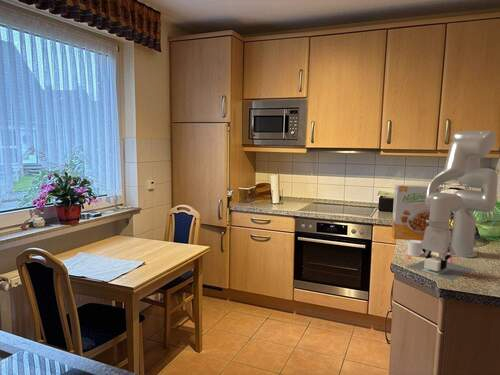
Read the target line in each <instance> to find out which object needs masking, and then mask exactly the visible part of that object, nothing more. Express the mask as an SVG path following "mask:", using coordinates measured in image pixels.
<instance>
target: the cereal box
mask: <svg viewBox="0 0 500 375" xmlns="http://www.w3.org/2000/svg"><path fill="white" fill-rule="evenodd" d="M428 186H429V185H417V184H416V185H415V184H414V185H411V184H410V185H409V184H394V190H393V191H394V194H393V195H394V196H393V205H392V206H393V207H392V208H393V209H392V225H391V237H392V238H393V240H405V241H406V240H407V241H408V240H419V241H423V239H424V234H425V230H426V227H427V226H429V225H428V223H426V220H429V216H430V208H428V207H427V206H426V204H425V197H426V193H427V189H428ZM441 188H442V187H441V186H439V187H438V188H437V190H436V192H440V193H441Z"/></svg>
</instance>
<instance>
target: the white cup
mask: <svg viewBox="0 0 500 375" xmlns="http://www.w3.org/2000/svg"><path fill="white" fill-rule="evenodd" d="M406 242H407V243H406V244H407V255H408V256H411V257H421V255H422V252H423V251H422V249H421V248H420V247H419V245H420V244H421V243H422V242H423V240H407V241H406Z"/></svg>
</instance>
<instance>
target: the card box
mask: <svg viewBox="0 0 500 375" xmlns="http://www.w3.org/2000/svg"><path fill="white" fill-rule="evenodd" d="M424 260H425V263H424V268H427V269H431V270H434V271H439V270H441V269H440V267H441V260H442V257H440V256H436V255H433V256H432V257H430V258H427V259H426V258H424ZM446 268H447V266H446Z"/></svg>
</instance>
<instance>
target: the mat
mask: <svg viewBox="0 0 500 375" xmlns="http://www.w3.org/2000/svg"><path fill="white" fill-rule="evenodd" d="M424 263H425V259H424V260H421V261H419V262H417V263H416V262H415V263H413V264H410V265H407V266H406V268H408V269H412V270H417V271H419V272H422V273H426V274H429V275H433V276H436V277H440V278H442V279H446V280H450V281H453V280H455V279H457V278H460V277H462V276H464V275H467V274H468V273H471V272H473V271H475V270H476V268H471V267H468V266H464V265H460V264H456V263H452V262H448V261H447V268H445V269H443V270H439V271H434V270H431V269H427V268H424Z"/></svg>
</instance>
